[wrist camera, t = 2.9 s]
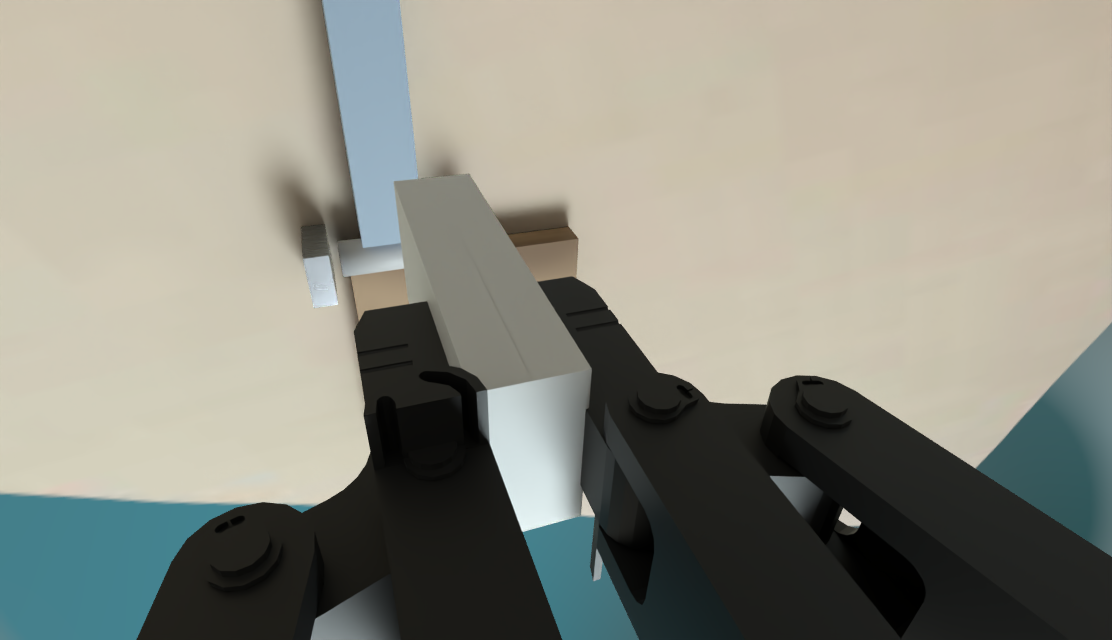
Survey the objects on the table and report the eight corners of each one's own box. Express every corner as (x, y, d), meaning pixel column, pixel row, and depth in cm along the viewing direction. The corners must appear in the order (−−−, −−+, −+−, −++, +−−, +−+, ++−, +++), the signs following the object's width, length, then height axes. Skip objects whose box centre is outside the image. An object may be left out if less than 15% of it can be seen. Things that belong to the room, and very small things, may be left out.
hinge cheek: (301, 227, 28) (302, 258, 26) (324, 224, 28) (328, 255, 26) (311, 273, 29) (313, 308, 27) (334, 270, 30) (338, 304, 27)
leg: (439, 249, 31) (450, 273, 29) (341, 262, 30) (345, 288, 28) (414, -26, 25) (425, -20, 23) (288, -25, 23) (288, -19, 21)
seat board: (347, 255, 30) (349, 270, 28) (568, 226, 33) (578, 238, 32) (378, 427, 36) (380, 444, 35) (561, 389, 39) (569, 403, 38)
